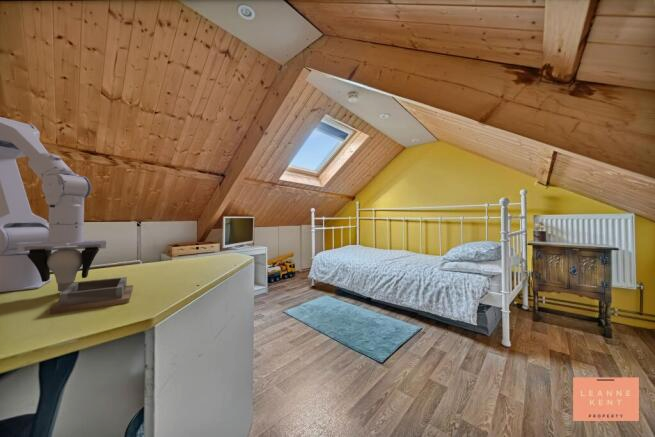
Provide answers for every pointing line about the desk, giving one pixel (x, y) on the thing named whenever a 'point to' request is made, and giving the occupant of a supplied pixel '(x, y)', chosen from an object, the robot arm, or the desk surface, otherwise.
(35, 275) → the robot arm
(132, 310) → the desk surface
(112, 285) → the socket base
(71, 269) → the lightbulb
